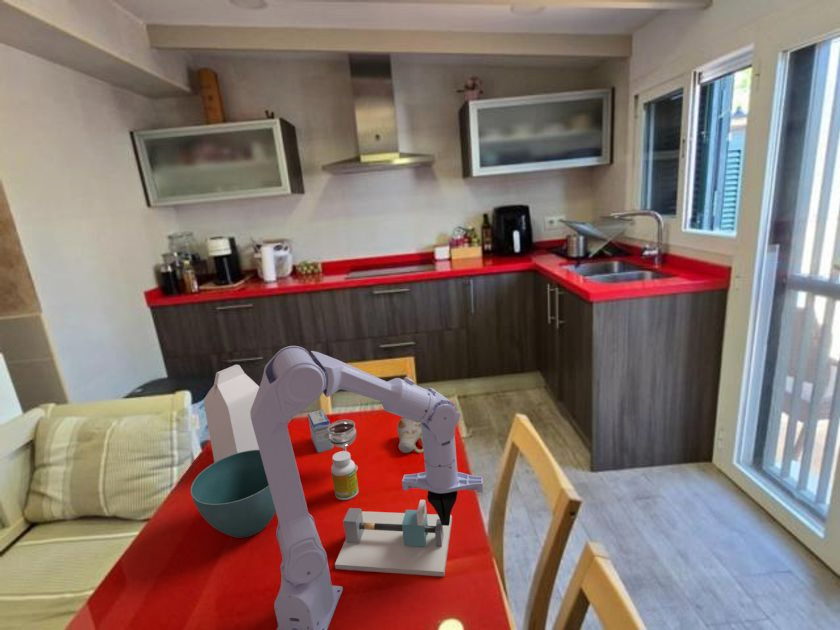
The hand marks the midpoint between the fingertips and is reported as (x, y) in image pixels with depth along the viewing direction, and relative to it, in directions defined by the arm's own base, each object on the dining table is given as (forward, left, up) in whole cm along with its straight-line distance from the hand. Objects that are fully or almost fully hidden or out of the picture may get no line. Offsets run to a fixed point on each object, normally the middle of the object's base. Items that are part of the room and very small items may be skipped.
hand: (445, 521), depth 82 cm
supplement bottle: (+14, +25, -6) cm, 29 cm away
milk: (+27, +58, -6) cm, 64 cm away
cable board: (0, +10, -5) cm, 11 cm away
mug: (+34, +14, -6) cm, 37 cm away
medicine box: (+34, +39, -6) cm, 52 cm away
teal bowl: (+3, +43, -6) cm, 43 cm away
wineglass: (+23, +28, -6) cm, 36 cm away
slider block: (0, +6, -4) cm, 7 cm away
